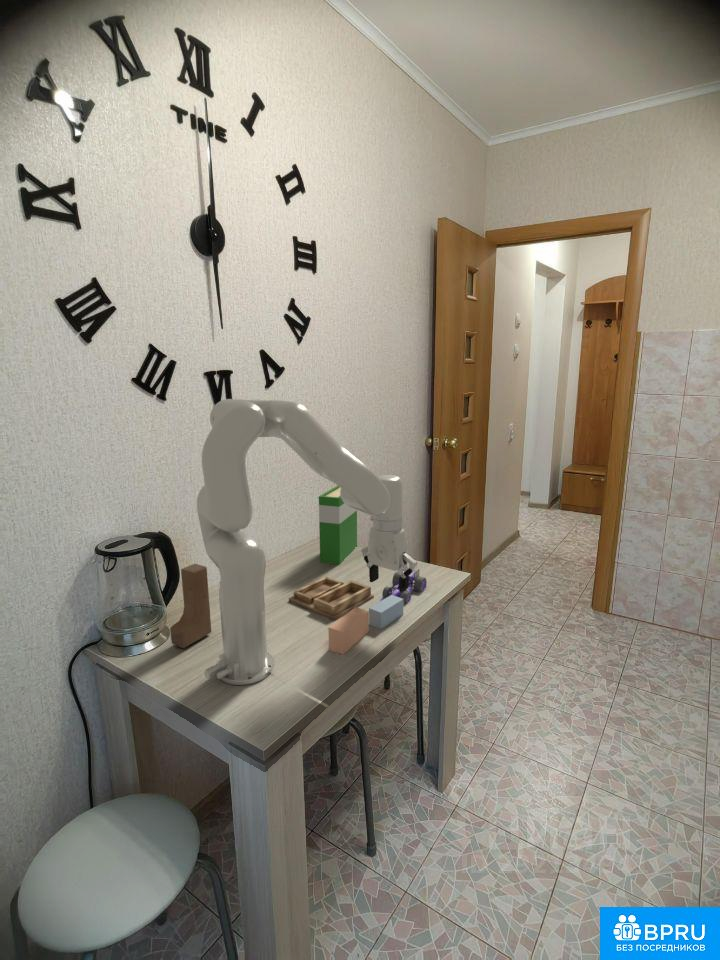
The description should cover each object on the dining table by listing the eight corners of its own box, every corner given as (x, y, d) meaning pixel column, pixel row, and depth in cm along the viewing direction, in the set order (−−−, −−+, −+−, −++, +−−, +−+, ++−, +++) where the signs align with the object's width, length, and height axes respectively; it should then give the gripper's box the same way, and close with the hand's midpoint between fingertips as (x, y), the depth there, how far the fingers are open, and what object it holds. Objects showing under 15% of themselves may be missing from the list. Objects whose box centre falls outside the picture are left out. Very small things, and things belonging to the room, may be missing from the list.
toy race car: (376, 602, 142) (376, 581, 141) (398, 583, 155) (398, 564, 154) (406, 610, 138) (406, 588, 136) (426, 590, 150) (427, 570, 149)
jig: (334, 620, 131) (334, 608, 130) (288, 601, 142) (288, 589, 142) (373, 598, 144) (373, 587, 143) (328, 582, 155) (328, 571, 154)
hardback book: (338, 546, 187) (338, 485, 182) (357, 548, 185) (356, 486, 179) (320, 563, 171) (318, 496, 165) (340, 565, 168) (339, 498, 163)
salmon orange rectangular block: (342, 655, 115) (342, 631, 114) (328, 650, 118) (328, 627, 116) (368, 632, 125) (368, 610, 124) (355, 628, 127) (355, 607, 126)
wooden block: (183, 649, 118) (177, 579, 114) (170, 643, 120) (164, 575, 116) (212, 632, 125) (207, 566, 121) (200, 627, 128) (194, 562, 124)
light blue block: (381, 630, 126) (381, 612, 125) (368, 625, 129) (369, 608, 128) (403, 615, 134) (403, 599, 133) (391, 611, 136) (391, 594, 135)
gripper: (352, 521, 128) (354, 581, 132) (407, 534, 117) (407, 599, 121) (370, 514, 134) (371, 572, 138) (424, 525, 123) (424, 588, 127)
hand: (388, 585), depth 130 cm, fingers open, 9 cm apart
